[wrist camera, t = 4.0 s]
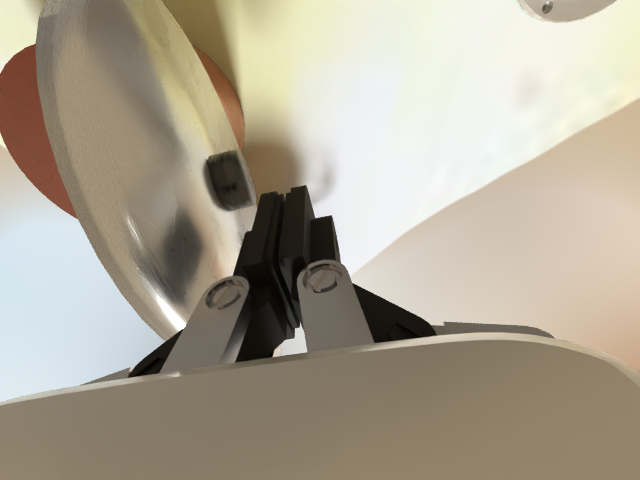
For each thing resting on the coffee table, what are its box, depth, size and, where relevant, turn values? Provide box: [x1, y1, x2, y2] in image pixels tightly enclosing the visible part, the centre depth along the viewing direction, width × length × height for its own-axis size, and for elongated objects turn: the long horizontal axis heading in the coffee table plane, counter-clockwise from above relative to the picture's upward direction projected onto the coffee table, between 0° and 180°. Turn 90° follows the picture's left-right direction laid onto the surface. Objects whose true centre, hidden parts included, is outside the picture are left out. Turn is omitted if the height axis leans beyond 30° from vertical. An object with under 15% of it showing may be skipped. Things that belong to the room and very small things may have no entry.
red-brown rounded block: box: [0, 44, 245, 219], centre depth 28 cm, size 16×16×11 cm
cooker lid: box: [35, 0, 257, 341], centre depth 16 cm, size 17×17×3 cm
